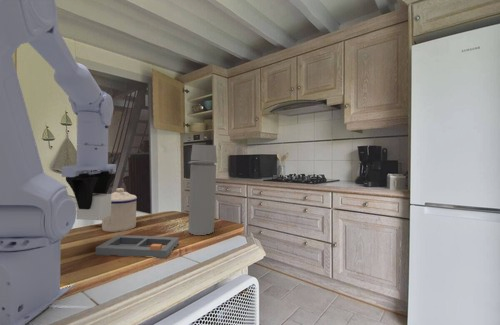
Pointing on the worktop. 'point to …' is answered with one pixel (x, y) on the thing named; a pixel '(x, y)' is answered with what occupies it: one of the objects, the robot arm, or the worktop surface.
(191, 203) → the water bottle
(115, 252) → the grey divided tray
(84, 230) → the worktop surface
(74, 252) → the worktop surface
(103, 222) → the teacup with lid
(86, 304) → the worktop surface
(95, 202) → the block
